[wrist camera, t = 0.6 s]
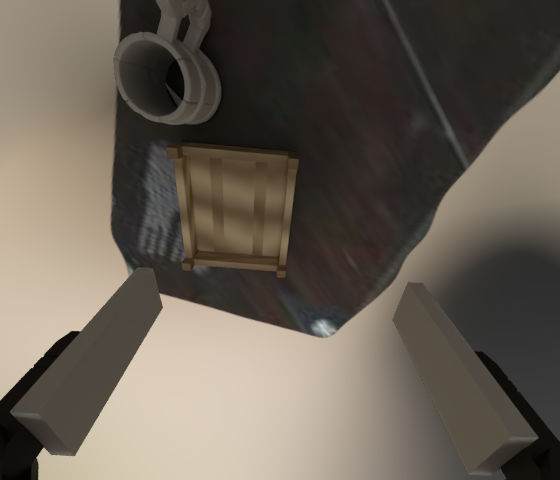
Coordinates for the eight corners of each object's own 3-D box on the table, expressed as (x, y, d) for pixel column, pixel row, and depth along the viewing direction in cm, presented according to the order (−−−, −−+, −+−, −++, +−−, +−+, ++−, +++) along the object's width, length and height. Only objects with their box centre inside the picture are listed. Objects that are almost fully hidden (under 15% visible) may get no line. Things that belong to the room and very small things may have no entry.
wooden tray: (182, 141, 32) (166, 147, 27) (296, 152, 32) (298, 159, 28) (193, 252, 40) (182, 270, 35) (284, 259, 40) (284, 278, 36)
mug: (152, 104, 30) (79, 103, 19) (178, -16, 25) (99, -106, 14) (211, 135, 31) (174, 150, 21) (248, 29, 26) (223, -23, 16)
